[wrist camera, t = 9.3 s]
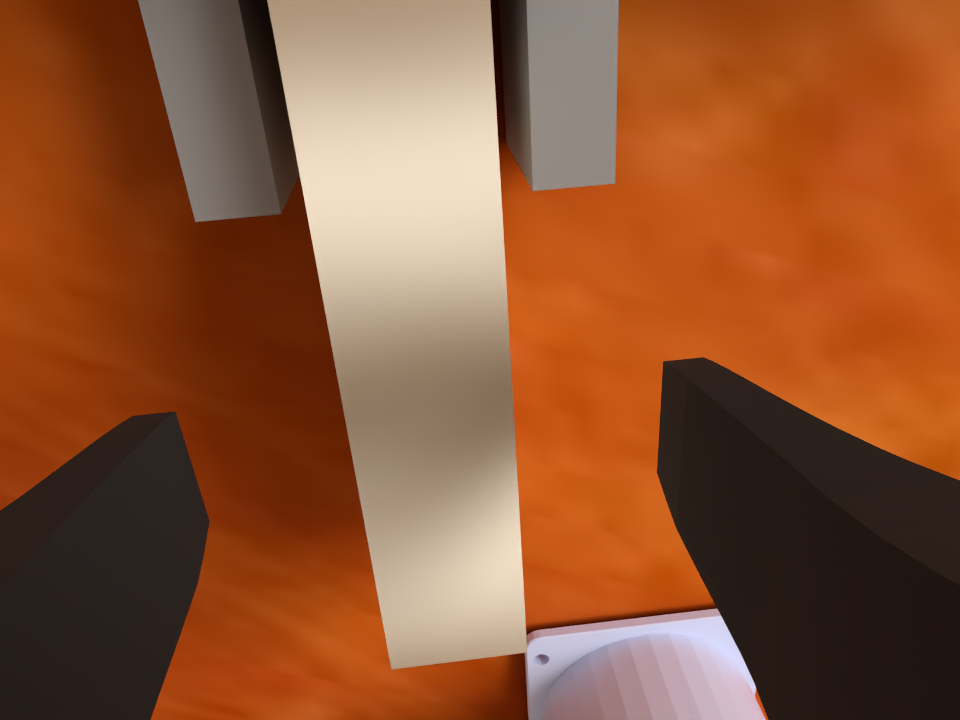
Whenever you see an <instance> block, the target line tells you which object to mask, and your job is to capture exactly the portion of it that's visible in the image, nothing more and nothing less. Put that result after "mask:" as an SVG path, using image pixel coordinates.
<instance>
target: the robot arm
mask: <svg viewBox="0 0 960 720" xmlns="http://www.w3.org/2000/svg"><path fill="white" fill-rule="evenodd" d="M657 474H658V477H659V480H660V483H661V486H662V489H663V492H664V495H665V498H666V501H667V504H668V506H669V509H670V512H671V515H672V517H673V520H674V523H675V526H676V528H677V530H678V532H679V534H680V536H681V539H682V541H683V543H684V545H685V547H686V548H687V550H688V552H689V554H690V556H691V558H692V560H693V562H694V564H695V566H696V568H697V570H698V572H699V574H700V576H701V578H702V580H703V582H704V584H705V586H706V588H707V589H708V591H709V593H710V595H711V597H712V599H713V601H714V603H715V605H716V607H717V608H716V609H708V610H700V611H691V612H683V613H675V614H666V615H658V616H649V617H641V618H633V619H624V620H616V621H608V622H599V623H591V624H583V625H574V626H566V627H558V628H549V629H541V630H536V631H533V632H531V633H529V634H528V635H527V636H526V640H527V653H525V670H526V687H527V705H528V720H765V718H764V716H763V713H762V711H761V709H760V707H759V705H758V703H757V701H756V699H755V691H756V689H757V691H758V694H759V696H760V699H761V702H762V704H763V707H764V709H765V712H766V714H767V717H768V719H769V720H960V481H959V480H957V479H954V478H951V477H949V476H946V475H944V474H941V473H939V472H936V471H934V470H931V469H928V468H926V467H923V466H921V465H918V464H916V463H913V462H911V461H908V460H906V459H903V458H901V457H899V456H896V455H894V454H892V453H889V452H887V451H885V450H882V449H880V448H878V447H876V446H874V445H872V444H870V443H867V442H865V441H863V440H861V439H859V438H857V437H855V436H853V435H850V434H848V433H846V432H844V431H842V430H840V429H838V428H836V427H834V426H832V425H830V424H828V423H826V422H824V421H822V420H820V419H818V418H816V417H814V416H813V415H811V414H809V413H807V412H805V411H803V410H801V409H799V408H797V407H796V406H794V405H792V404H790V403H788V402H786V401H785V400H783V399H781V398H779V397H777V396H776V395H774V394H772V393H770V392H768V391H766V390H765V389H763V388H761V387H759V386H758V385H756V384H754V383H752V382H750V381H749V380H747V379H745V378H743V377H741V376H740V375H738V374H736V373H734V372H732V371H730V370H729V369H727V368H725V367H723V366H721V365H719V364H717V363H715V362H713V361H711V360H708V359H706V358H704V357H703V358H693V359H684V360H674V361H664V362H663V377H662V395H661V413H660V430H659V448H658V466H657ZM208 527H209V519H208V515H207V512H206V509H205V506H204V502H203V499H202V496H201V493H200V489H199V486H198V483H197V480H196V477H195V473H194V470H193V467H192V464H191V460H190V457H189V454H188V451H187V447H186V444H185V441H184V438H183V434H182V431H181V428H180V425H179V422H178V418H177V415H176V412H168V413H158V414H148V415H138V416H132V417H131V418H129V419H127V420H126V421H124V422H122V423H121V424H119V425H118V426H116V427H115V428H113V429H112V430H110V431H109V432H107V433H106V434H105V435H103V436H102V437H100V438H99V439H98V440H96V441H95V442H94V443H92V444H91V445H89V446H88V447H87V448H85V449H84V450H83V451H81V452H80V453H79V454H77V455H76V456H75V457H73V458H72V459H71V460H69V461H68V462H67V463H65V464H64V465H63V466H61V467H60V468H59V469H57V470H56V471H55V472H53V473H52V474H51V475H49V476H48V477H46V478H45V479H44V480H42V481H41V482H40V483H38V484H37V485H36V486H34V487H33V488H32V489H30V490H29V491H28V492H26V493H25V494H24V495H22V496H21V497H19V498H18V499H17V500H15V501H14V502H12V503H11V504H9V505H8V506H6V507H5V508H4V509H2V510H1V511H0V720H150V719H151V716H152V713H153V711H154V708H155V705H156V702H157V699H158V696H159V693H160V691H161V688H162V685H163V682H164V679H165V676H166V674H167V671H168V668H169V665H170V662H171V659H172V656H173V654H174V651H175V648H176V645H177V642H178V639H179V637H180V634H181V631H182V628H183V625H184V622H185V619H186V616H187V613H188V610H189V607H190V605H191V602H192V599H193V596H194V593H195V590H196V586H197V583H198V579H199V574H200V570H201V565H202V560H203V555H204V550H205V544H206V538H207V533H208ZM540 654H543V655H540ZM538 655H540V656H538Z"/></svg>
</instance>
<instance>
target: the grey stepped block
mask: <svg viewBox="0 0 960 720" xmlns="http://www.w3.org/2000/svg"><path fill="white" fill-rule="evenodd" d="M138 2H139V6H140V10H141V14H142V18H143V22H144V26H145V29H146V33H147V37H148V41H149V45H150V49H151V53H152V56H153V60H154V64H155V68H156V72H157V76H158V80H159V84H160V87H161V91H162V95H163V99H164V103H165V107H166V111H167V114H168V118H169V122H170V126H171V130H172V134H173V138H174V141H175V145H176V149H177V153H178V157H179V161H180V165H181V169H182V172H183V176H184V180H185V184H186V188H187V192H188V196H189V199H190V203H191V207H192V211H193V215H194V219H195V222H201V221H212V220H223V219H234V218H245V217H255V216H266V215H277V214H281V213H282V211H283V209H284V207H285V205H286V203H287V201H288V199H289V196H290V194H291V192H292V190H293V188H294V186H295V184H296V182H297V180H298V178H299V175H300V174H299V168H298V163H297V158H296V152H295V147H294V141H293V136H292V131H291V125H290V120H289V115H288V109H287V104H286V98H285V93H284V88H283V82H282V77H281V71H280V66H279V61H278V55H277V50H276V45H275V39H274V34H273V28H272V23H271V18H270V12H269V7H268V1H267V0H138ZM499 8H500V28H501V49H502V69H503V89H504V110H505V130H506V143H507V145H508V147H509V149H510V150H511V152H512V154H513V156H514V158H515V160H516V161H517V163H518V165H519V167H520V169H521V170H522V172H523V174H524V176H525V178H526V179H527V181H528V183H529V185H530V187H531V188H532V190H533V191H539V190H550V189H560V188H571V187H582V186H593V185H604V184H615V163H616V113H617V64H618V14H619V0H499Z"/></svg>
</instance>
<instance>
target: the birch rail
mask: <svg viewBox="0 0 960 720" xmlns="http://www.w3.org/2000/svg"><path fill="white" fill-rule="evenodd" d="M267 1H268V7H269V12H270V18H271V23H272V28H273V34H274V39H275V45H276V50H277V55H278V61H279V66H280V71H281V77H282V82H283V88H284V93H285V98H286V104H287V109H288V115H289V120H290V125H291V131H292V136H293V141H294V147H295V152H296V158H297V163H298V168H299V174H300V179H301V185H302V190H303V195H304V201H305V206H306V211H307V217H308V222H309V228H310V233H311V238H312V244H313V249H314V255H315V260H316V265H317V271H318V276H319V281H320V287H321V292H322V298H323V303H324V308H325V314H326V319H327V325H328V330H329V335H330V341H331V346H332V351H333V357H334V362H335V368H336V373H337V378H338V384H339V389H340V395H341V400H342V405H343V411H344V416H345V421H346V427H347V432H348V438H349V443H350V448H351V454H352V459H353V465H354V470H355V475H356V481H357V486H358V491H359V497H360V502H361V508H362V513H363V518H364V524H365V529H366V535H367V540H368V545H369V551H370V556H371V561H372V567H373V572H374V578H375V583H376V588H377V594H378V599H379V605H380V610H381V615H382V621H383V626H384V631H385V637H386V642H387V648H388V653H389V658H390V664H391V669H399V668H407V667H415V666H423V665H431V664H439V663H447V662H455V661H463V660H471V659H479V658H487V657H495V656H503V655H511V654H519V653H527V640H526V622H525V604H524V587H523V569H522V552H521V534H520V516H519V499H518V481H517V463H516V446H515V428H514V410H513V393H512V375H511V357H510V340H509V322H508V305H507V287H506V269H505V252H504V234H503V216H502V199H501V181H500V163H499V146H498V128H497V110H496V93H495V75H494V58H493V40H492V22H491V5H490V0H267Z"/></svg>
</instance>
